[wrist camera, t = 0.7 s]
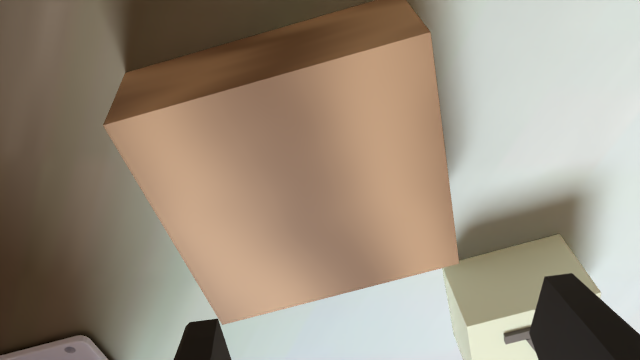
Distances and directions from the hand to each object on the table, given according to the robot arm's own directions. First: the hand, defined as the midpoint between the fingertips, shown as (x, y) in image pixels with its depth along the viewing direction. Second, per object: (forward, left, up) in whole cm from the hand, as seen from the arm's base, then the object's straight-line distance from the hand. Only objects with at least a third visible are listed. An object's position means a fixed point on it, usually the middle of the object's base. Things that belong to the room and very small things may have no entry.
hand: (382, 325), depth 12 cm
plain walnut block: (-2, -2, -11) cm, 11 cm away
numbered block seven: (+6, -14, -11) cm, 19 cm away
